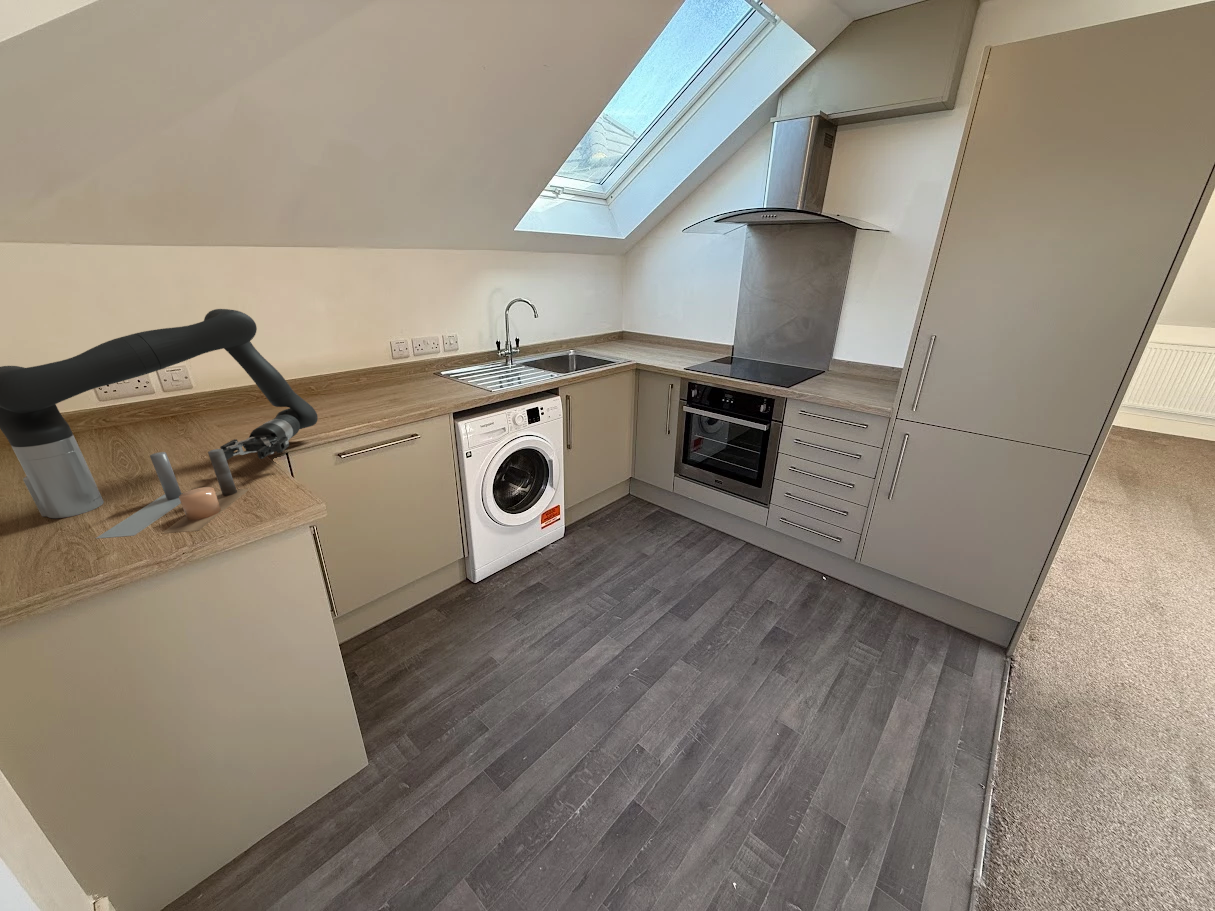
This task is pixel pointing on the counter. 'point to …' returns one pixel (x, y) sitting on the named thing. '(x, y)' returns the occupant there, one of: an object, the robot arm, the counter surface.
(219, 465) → the peg on wooden base
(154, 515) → the grey peg stand
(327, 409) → the counter surface
